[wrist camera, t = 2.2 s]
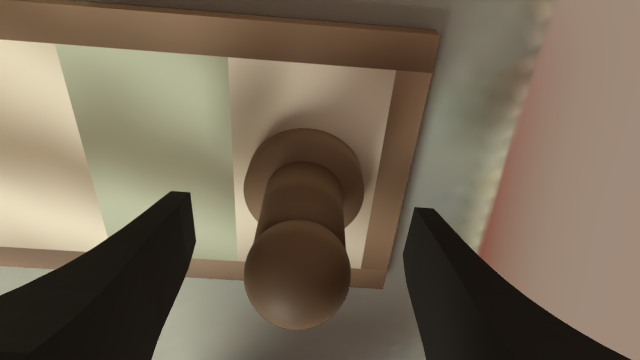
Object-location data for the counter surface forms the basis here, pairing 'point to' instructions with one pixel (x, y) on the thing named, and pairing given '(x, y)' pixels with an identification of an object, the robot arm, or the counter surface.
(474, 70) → the counter surface
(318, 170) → the pawn
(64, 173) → the game board
